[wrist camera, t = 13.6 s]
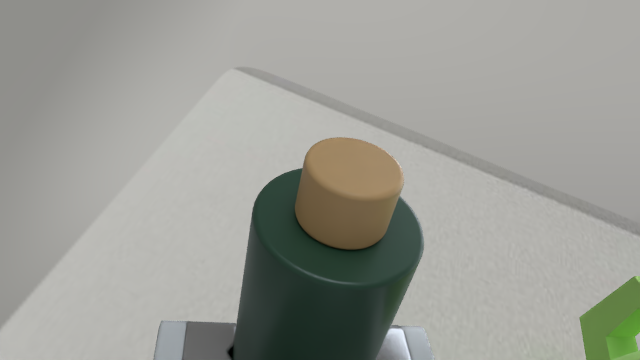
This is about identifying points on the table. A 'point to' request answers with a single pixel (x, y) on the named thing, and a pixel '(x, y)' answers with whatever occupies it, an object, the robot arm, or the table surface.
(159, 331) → the robot arm
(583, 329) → the teapot
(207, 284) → the table surface
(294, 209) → the green tube with cork
